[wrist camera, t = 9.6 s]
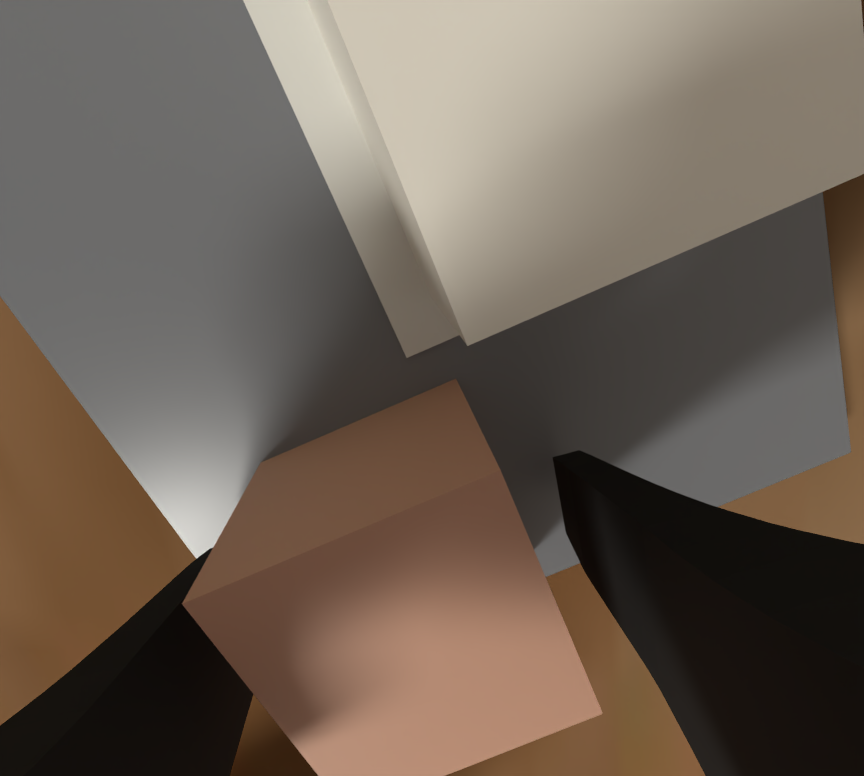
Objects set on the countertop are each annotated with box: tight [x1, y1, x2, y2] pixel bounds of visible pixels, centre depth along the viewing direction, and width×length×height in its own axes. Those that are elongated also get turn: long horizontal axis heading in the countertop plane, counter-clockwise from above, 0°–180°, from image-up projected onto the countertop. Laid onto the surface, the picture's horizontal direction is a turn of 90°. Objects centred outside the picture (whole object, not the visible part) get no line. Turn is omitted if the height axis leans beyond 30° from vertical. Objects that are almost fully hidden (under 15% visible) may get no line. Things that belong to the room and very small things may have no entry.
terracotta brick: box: [182, 379, 603, 776], centre depth 9 cm, size 5×5×4 cm
